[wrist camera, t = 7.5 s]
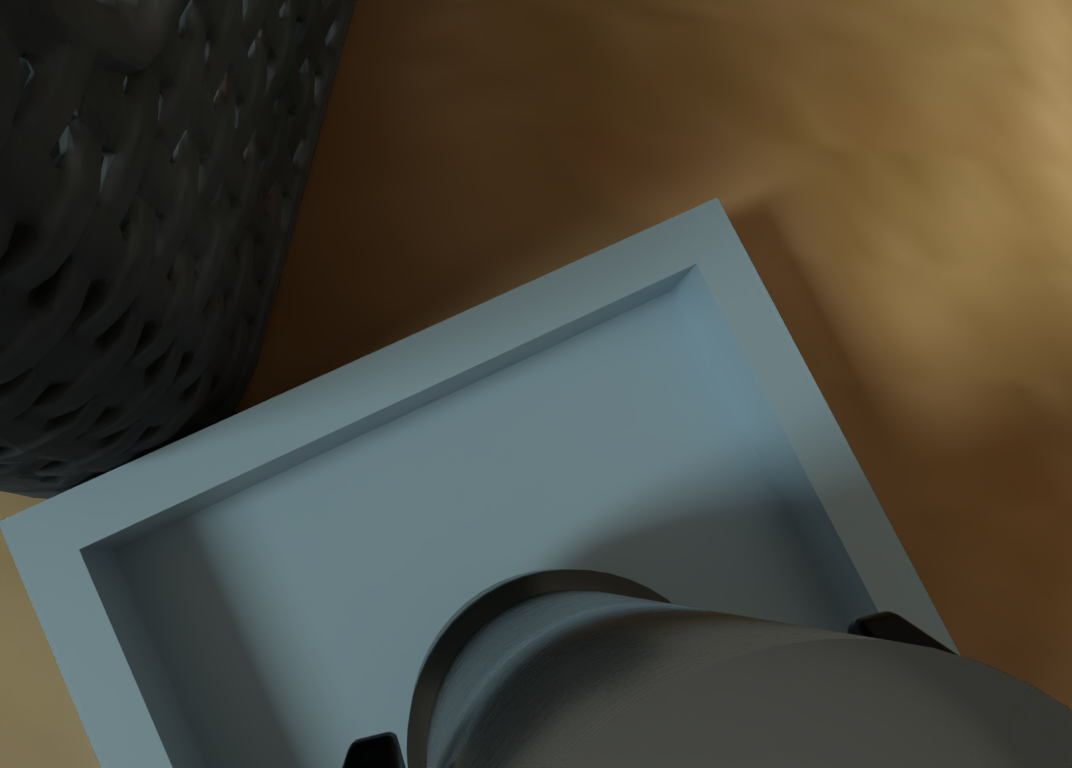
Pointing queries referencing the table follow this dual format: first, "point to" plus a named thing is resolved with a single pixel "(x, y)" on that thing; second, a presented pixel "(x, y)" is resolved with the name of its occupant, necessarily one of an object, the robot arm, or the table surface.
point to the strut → (704, 690)
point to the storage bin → (145, 215)
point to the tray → (459, 508)
